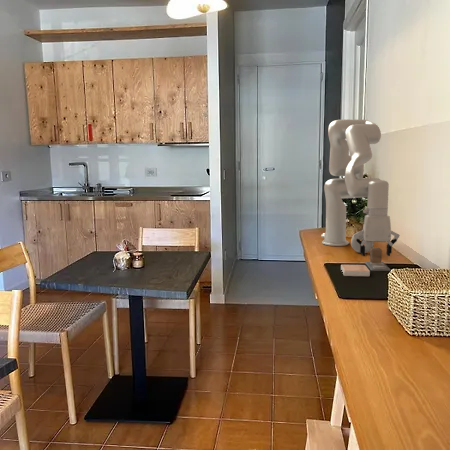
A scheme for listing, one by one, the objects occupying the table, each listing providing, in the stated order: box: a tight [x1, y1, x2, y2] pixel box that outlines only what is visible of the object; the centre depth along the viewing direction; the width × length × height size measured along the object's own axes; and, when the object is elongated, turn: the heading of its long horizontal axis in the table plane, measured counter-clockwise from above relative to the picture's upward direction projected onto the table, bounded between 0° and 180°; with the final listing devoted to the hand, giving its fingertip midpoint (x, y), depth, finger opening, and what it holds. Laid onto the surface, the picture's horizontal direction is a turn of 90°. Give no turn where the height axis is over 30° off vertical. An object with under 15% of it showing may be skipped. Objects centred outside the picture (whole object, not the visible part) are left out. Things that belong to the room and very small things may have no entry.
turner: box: [369, 247, 386, 269], centre depth 175 cm, size 10×4×6 cm, turn 174°
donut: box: [350, 234, 375, 254], centre depth 198 cm, size 10×3×10 cm, turn 81°
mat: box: [364, 261, 392, 272], centre depth 175 cm, size 12×7×1 cm, turn 174°
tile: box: [340, 264, 371, 277], centre depth 168 cm, size 2×9×9 cm
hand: (375, 255), depth 178 cm, fingers open, 9 cm apart
